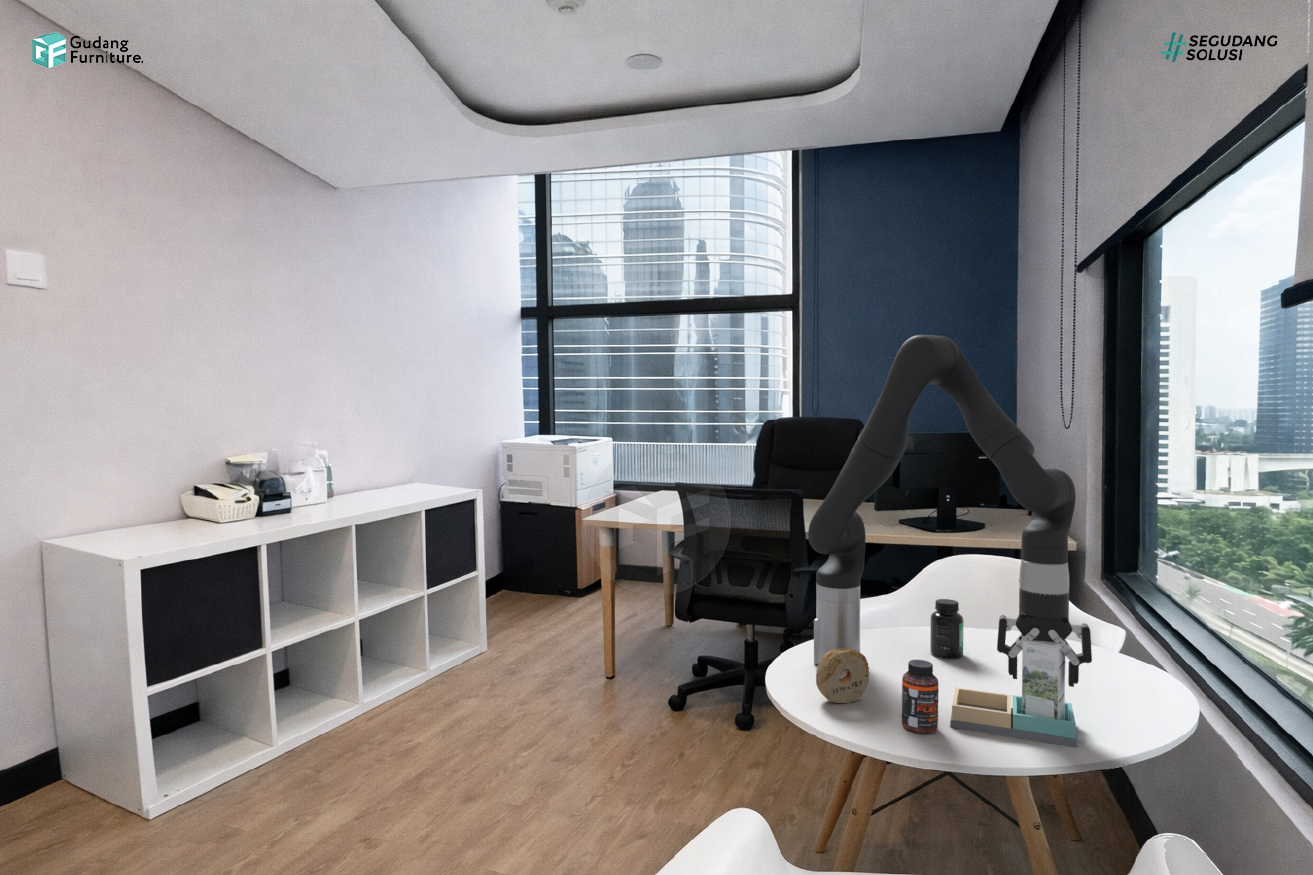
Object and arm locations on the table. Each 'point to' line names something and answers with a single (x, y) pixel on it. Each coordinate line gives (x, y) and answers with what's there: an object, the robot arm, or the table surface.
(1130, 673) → the table surface
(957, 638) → the supplement bottle
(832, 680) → the stone disc
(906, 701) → the supplement bottle
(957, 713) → the teal and wood tray
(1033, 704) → the syrup box
